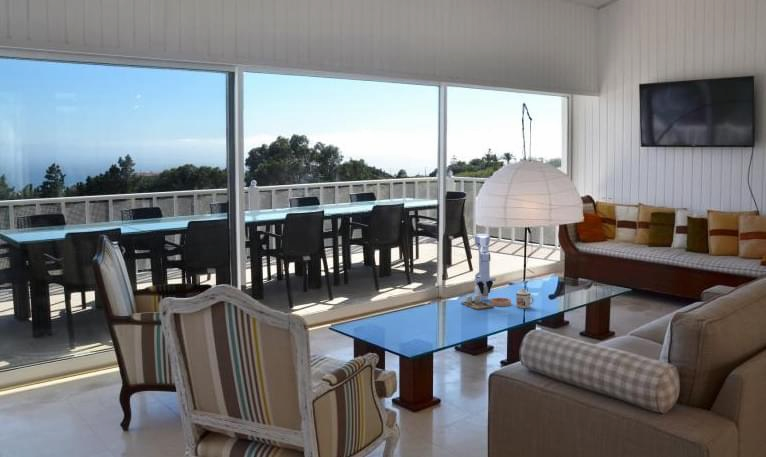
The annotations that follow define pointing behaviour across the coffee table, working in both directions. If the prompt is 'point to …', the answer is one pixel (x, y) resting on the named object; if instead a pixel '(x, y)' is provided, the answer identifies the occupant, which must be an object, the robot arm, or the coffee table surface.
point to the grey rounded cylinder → (485, 291)
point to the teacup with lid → (523, 299)
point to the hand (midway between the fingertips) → (485, 293)
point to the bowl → (500, 301)
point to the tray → (478, 307)
